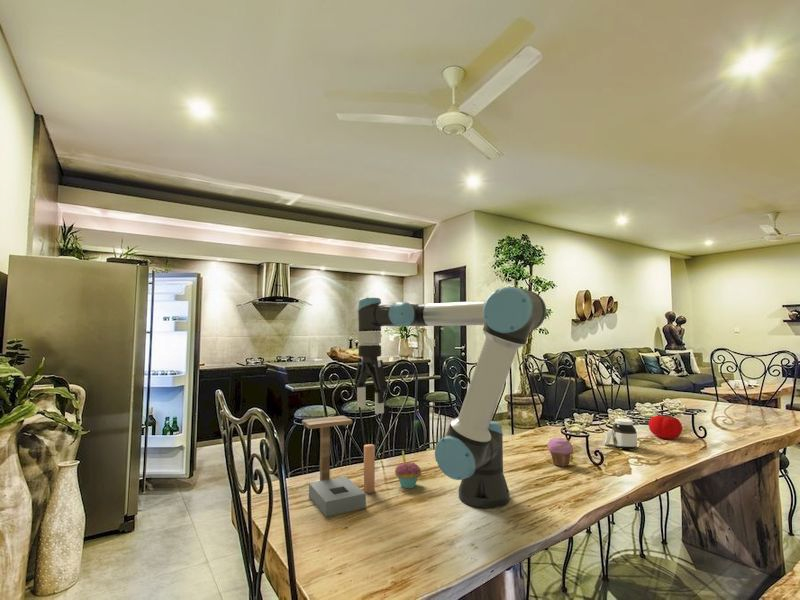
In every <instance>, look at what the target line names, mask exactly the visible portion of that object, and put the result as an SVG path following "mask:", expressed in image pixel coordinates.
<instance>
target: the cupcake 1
mask: <svg viewBox="0 0 800 600" xmlns="http://www.w3.org/2000/svg"><path fill="white" fill-rule="evenodd" d="M401 454H402V460H403V463H400V464H398V465H397V466H396V467H395V471H394V475H395V476H396V477H397V478H398V481H399V484H400V487H401V488H404V489H413V488H415V487H416V484H417V480H418V478H419V477H421V476H422V469H421V468H420V466H419V465H418V464H416V463H415V462H407V461H406V456H405V451H404V449H403V448H402V450H401Z"/></svg>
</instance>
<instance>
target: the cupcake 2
mask: <svg viewBox="0 0 800 600" xmlns="http://www.w3.org/2000/svg"><path fill="white" fill-rule="evenodd" d="M547 449H548V451H549V452H550V453H549V454H550V456H551V459H552V463H553V465H554V466H558V467H562V468H563V467H566V466H569V465H570V462H571V454H572V453H573V451H574V447H573V444H572V443H571V442H570V441H569V440H567V439H566V438H564V437H553V438H550V439H549V441H548V443H547Z"/></svg>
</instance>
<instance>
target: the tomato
mask: <svg viewBox="0 0 800 600" xmlns="http://www.w3.org/2000/svg"><path fill="white" fill-rule="evenodd" d="M648 429H649V431H650V433H652V434H653V435H654V436H656V437H658V438H662V439H664V440H665V439H666V440H672V439H676V438H678V437H679V436H680V435H681V434H682V432H683V425H682V422H681V421H680V420H679V419H678V418H676V417H675V416H672V415H667V414H655V416H653V417H651V418H649V421H648Z"/></svg>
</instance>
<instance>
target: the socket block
mask: <svg viewBox="0 0 800 600" xmlns="http://www.w3.org/2000/svg"><path fill="white" fill-rule="evenodd" d="M308 497H309V498H310V500H311V501H312V503H314V505H315V506H316V507H317V509H318V510H319V511H320V512H321V513H322V514H323V516H324V518H327V517H331V516H332V517H333V516H337V515H340V514H344V513H349V512H353V511H358V510H363V509H366V508H367V493H365V492H364V490H363V489H361V488H360V487H359V486H358V485H357V484H355V483H354V482H353V481H352V480H351V479H350V478H348V477H347V476H346V475H345V476H340V477H335V478H330V479H328V480H323V481H320V480H319V481H314V482H313V481H312V482H309V483H308Z"/></svg>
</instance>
